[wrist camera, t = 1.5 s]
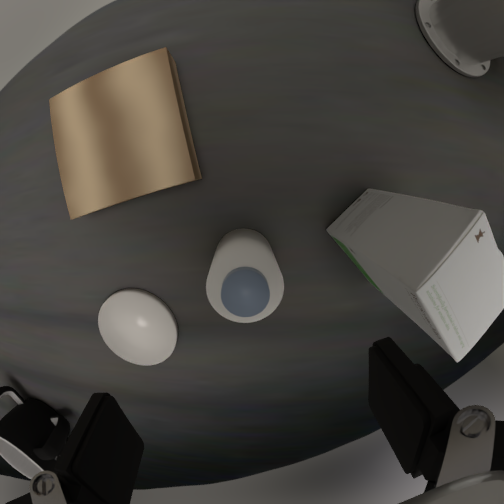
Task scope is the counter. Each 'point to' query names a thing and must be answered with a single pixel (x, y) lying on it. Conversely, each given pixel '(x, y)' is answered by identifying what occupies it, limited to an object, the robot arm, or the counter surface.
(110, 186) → the oak slab
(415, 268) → the skincare box
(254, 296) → the reagent bottle
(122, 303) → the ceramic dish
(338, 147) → the counter surface
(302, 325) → the counter surface
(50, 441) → the mug
